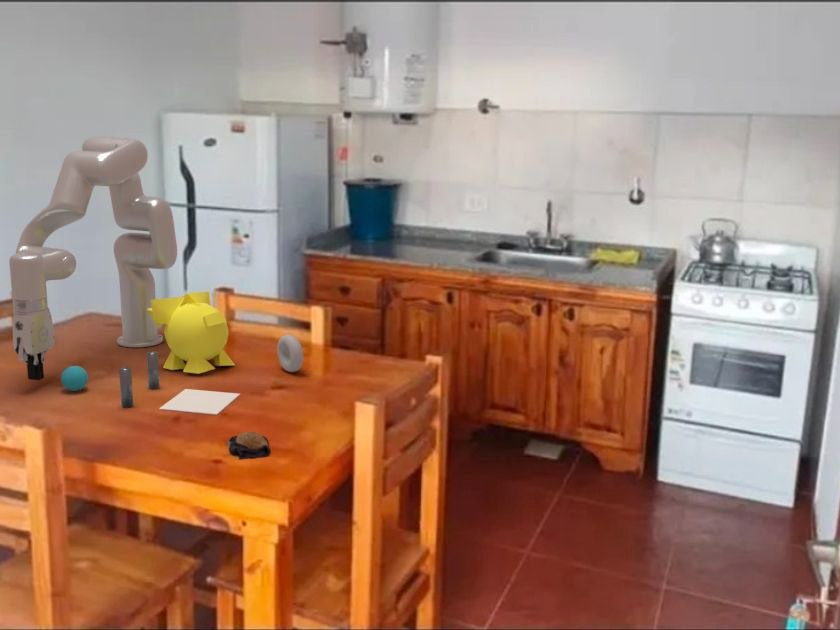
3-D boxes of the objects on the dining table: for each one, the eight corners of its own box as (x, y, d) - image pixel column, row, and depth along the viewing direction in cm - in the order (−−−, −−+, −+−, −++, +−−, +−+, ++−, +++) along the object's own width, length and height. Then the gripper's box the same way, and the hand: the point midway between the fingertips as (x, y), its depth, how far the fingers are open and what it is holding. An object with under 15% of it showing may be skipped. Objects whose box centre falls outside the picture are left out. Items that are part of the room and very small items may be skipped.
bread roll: (224, 444, 180) (224, 427, 179) (264, 439, 183) (264, 422, 182) (233, 463, 170) (232, 446, 170) (275, 458, 174) (274, 441, 173)
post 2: (151, 385, 212) (149, 350, 210) (161, 386, 212) (159, 351, 210) (146, 388, 210) (144, 353, 208) (156, 389, 209) (154, 354, 207)
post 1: (125, 403, 200) (122, 366, 197) (135, 404, 199) (133, 367, 197) (119, 407, 197) (117, 369, 195) (129, 408, 197) (127, 370, 195)
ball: (71, 385, 211) (69, 361, 209) (93, 387, 210) (92, 363, 208) (56, 393, 205) (54, 369, 203) (80, 395, 204) (78, 371, 202)
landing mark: (185, 389, 210) (185, 388, 210) (240, 394, 208) (240, 393, 208) (158, 409, 197) (158, 408, 196) (216, 414, 194) (216, 414, 194)
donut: (274, 368, 228) (274, 331, 226) (285, 365, 231) (285, 329, 228) (294, 377, 221) (294, 340, 219) (306, 375, 223) (306, 338, 221)
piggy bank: (197, 351, 241) (195, 283, 237) (247, 364, 231) (245, 294, 226) (138, 368, 225) (134, 296, 221) (189, 383, 215) (186, 308, 210)
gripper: (25, 313, 196) (31, 389, 200) (62, 299, 210) (67, 371, 215) (-5, 311, 197) (2, 387, 202) (34, 297, 212) (40, 368, 216)
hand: (36, 378), depth 208 cm, fingers closed
